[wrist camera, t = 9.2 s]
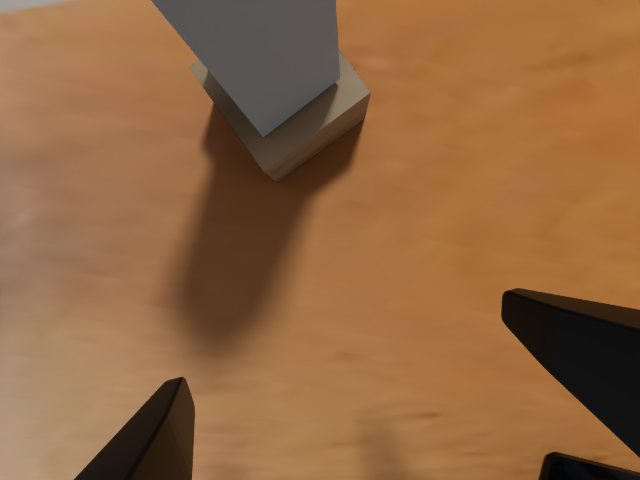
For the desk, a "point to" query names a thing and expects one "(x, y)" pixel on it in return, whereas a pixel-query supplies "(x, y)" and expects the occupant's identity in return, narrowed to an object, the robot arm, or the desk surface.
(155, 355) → the desk surface
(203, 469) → the desk surface
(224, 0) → the blue pillar
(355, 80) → the beige block
